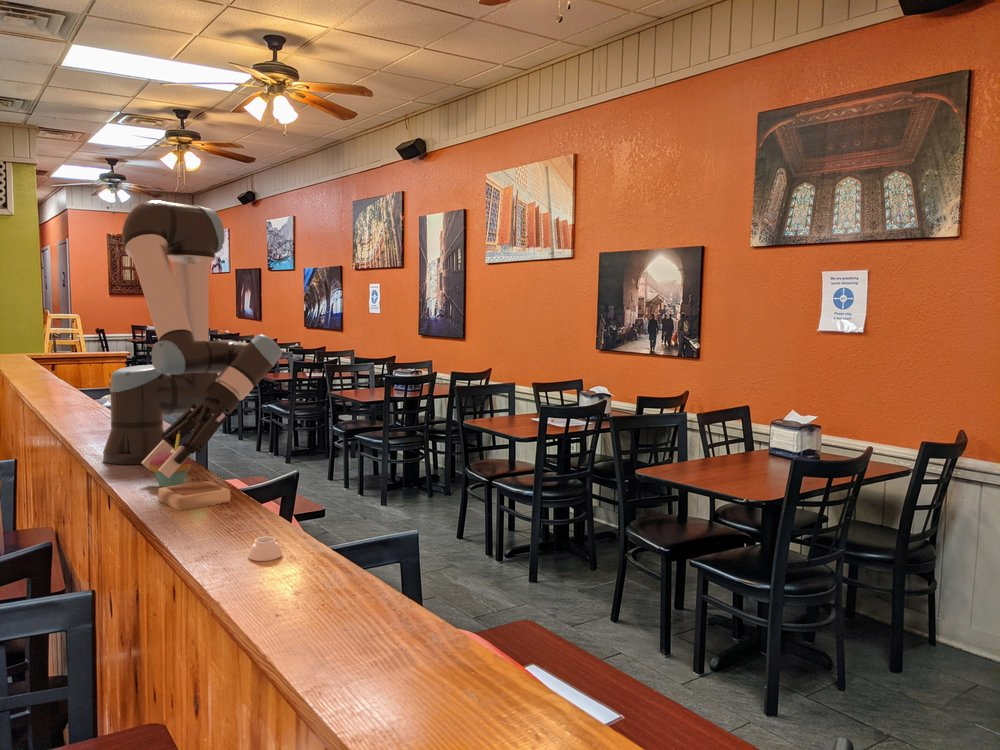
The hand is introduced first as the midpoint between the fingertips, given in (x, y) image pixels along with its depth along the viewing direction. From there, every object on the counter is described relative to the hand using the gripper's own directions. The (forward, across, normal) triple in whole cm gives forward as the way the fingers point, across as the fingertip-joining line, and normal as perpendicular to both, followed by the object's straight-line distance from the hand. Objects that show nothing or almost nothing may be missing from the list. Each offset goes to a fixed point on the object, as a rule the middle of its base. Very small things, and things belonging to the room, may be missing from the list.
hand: (154, 470), depth 154 cm
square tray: (+2, -16, -4) cm, 16 cm away
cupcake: (0, 0, -5) cm, 5 cm away
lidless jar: (+6, -55, 0) cm, 55 cm away
